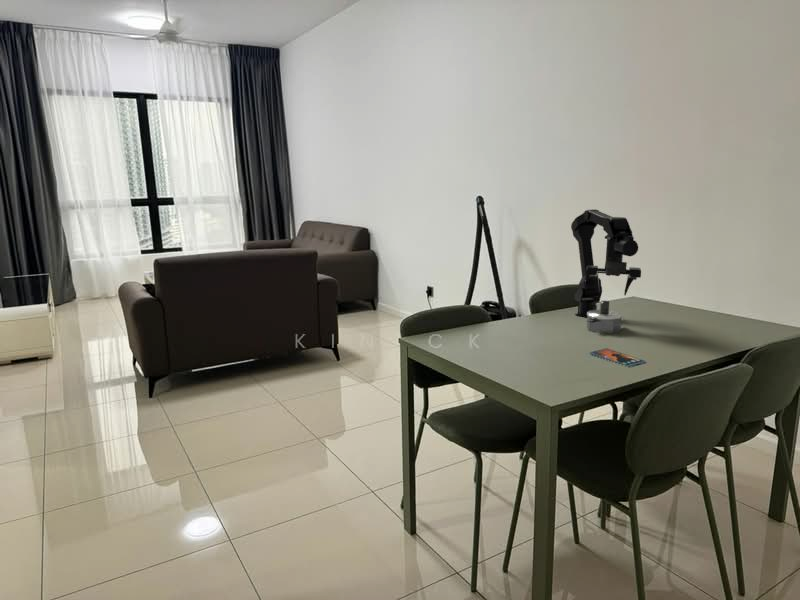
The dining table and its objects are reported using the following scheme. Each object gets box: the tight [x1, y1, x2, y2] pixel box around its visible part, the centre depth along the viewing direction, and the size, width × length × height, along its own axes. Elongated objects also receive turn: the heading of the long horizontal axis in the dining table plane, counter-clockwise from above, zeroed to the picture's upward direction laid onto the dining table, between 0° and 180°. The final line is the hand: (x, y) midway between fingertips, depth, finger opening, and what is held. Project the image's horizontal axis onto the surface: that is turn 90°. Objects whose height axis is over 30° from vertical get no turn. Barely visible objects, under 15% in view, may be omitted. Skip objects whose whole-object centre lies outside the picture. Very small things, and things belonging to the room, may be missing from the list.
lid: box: [587, 300, 623, 320], centre depth 204 cm, size 12×12×6 cm
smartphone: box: [589, 347, 647, 368], centre depth 173 cm, size 8×1×15 cm
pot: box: [586, 316, 622, 334], centre depth 205 cm, size 11×16×5 cm
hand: (611, 294), depth 207 cm, fingers open, 9 cm apart
